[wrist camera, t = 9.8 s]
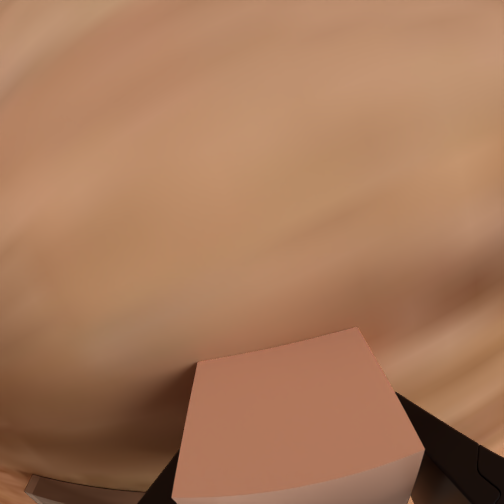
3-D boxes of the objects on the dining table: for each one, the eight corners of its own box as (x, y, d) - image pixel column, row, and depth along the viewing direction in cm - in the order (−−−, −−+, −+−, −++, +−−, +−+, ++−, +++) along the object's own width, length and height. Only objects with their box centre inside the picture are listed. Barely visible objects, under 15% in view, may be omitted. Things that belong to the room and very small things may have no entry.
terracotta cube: (361, 425, 10) (397, 527, 5) (239, 451, 10) (238, 557, 6) (356, 325, 8) (425, 449, 4) (197, 360, 8) (171, 497, 4)
